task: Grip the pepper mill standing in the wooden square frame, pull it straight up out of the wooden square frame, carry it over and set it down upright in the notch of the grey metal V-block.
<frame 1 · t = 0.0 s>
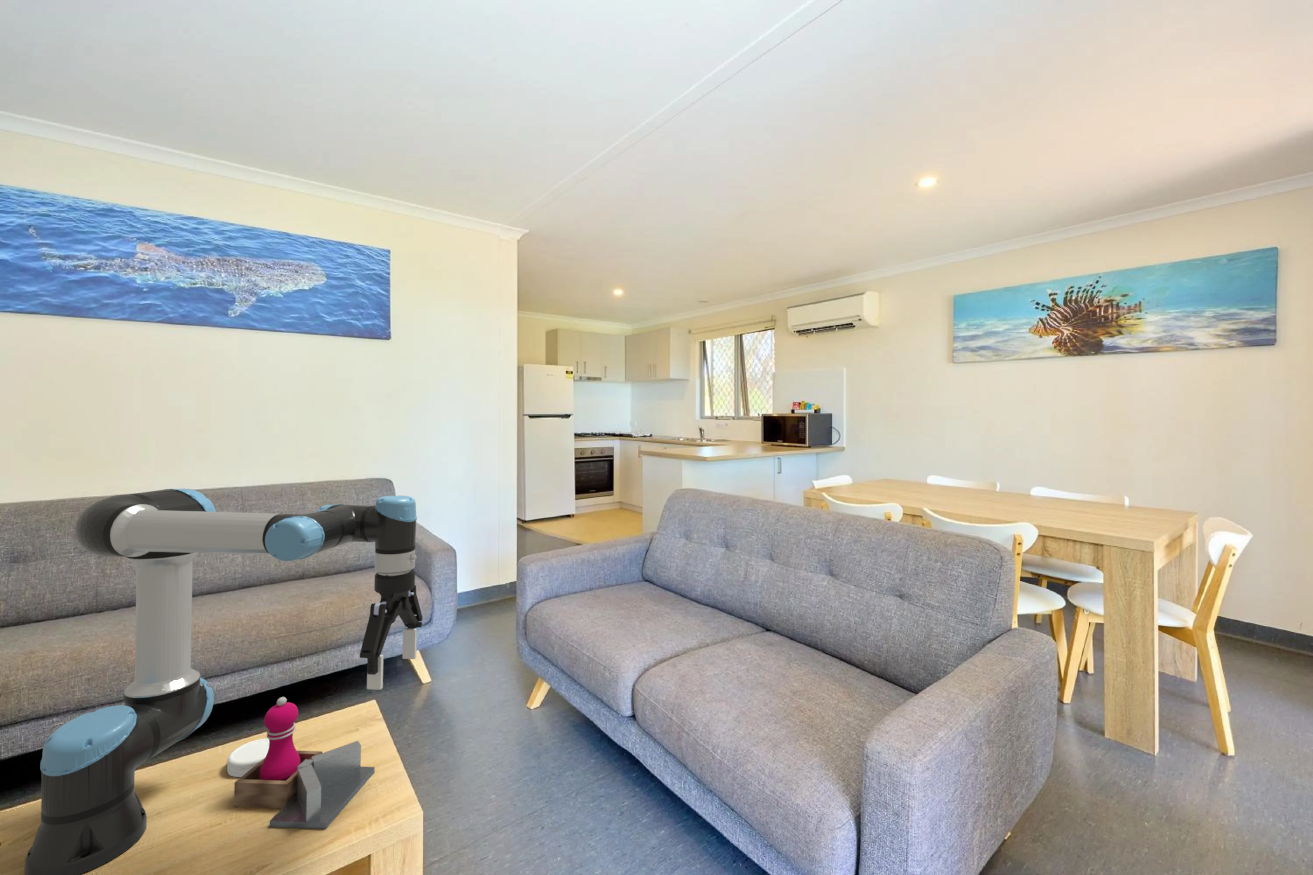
hand: (393, 672, 108), 28 cm above the table, fingers open, 13 cm apart
pepper mill: (280, 789, 112), resting in wooden square frame
v block: (333, 797, 110), on the table
wooden square frame: (280, 788, 112), on the table
coaster: (255, 765, 121), on the table
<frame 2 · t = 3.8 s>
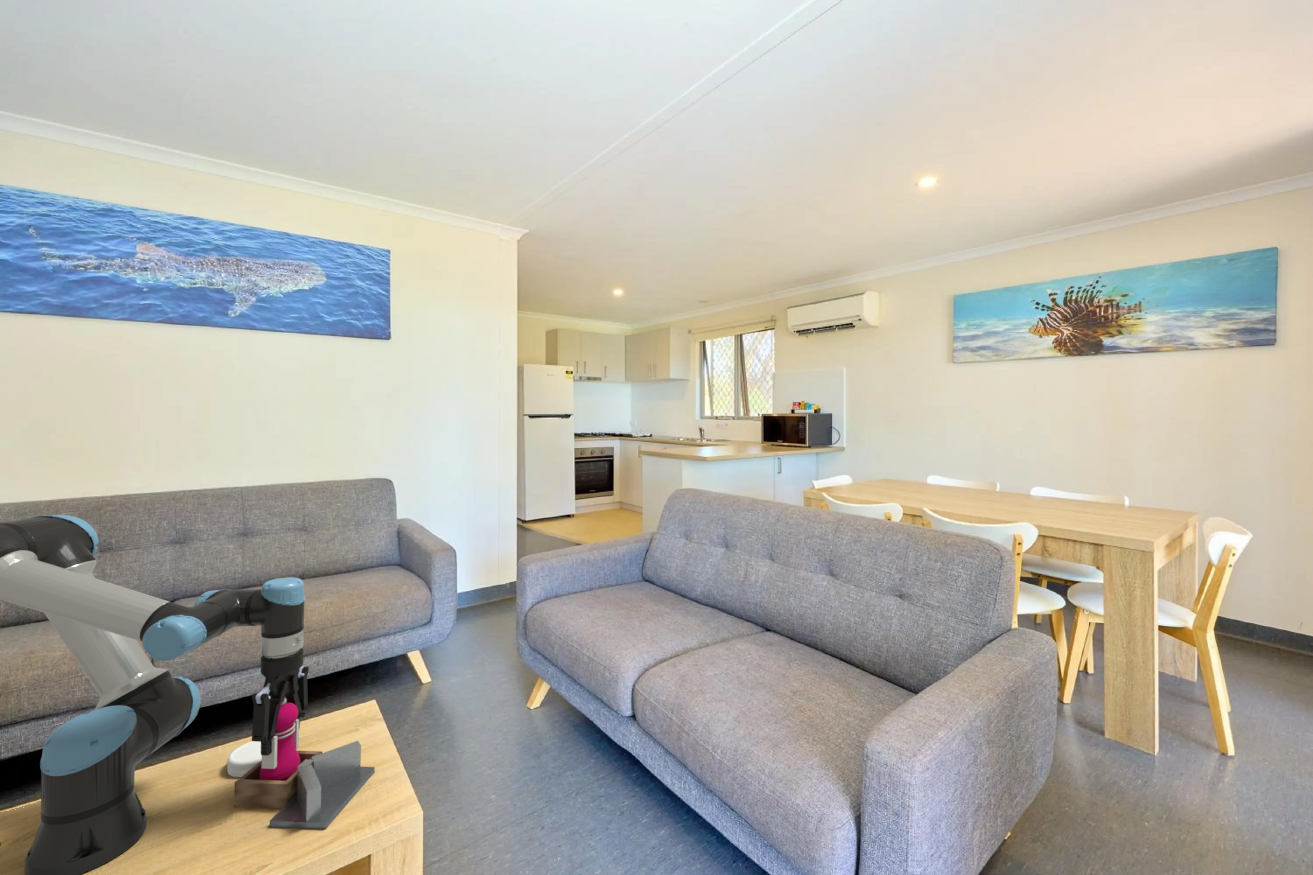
hand: (280, 757, 112), 7 cm above the table, fingers closed on pepper mill, 6 cm apart
pepper mill: (280, 789, 112), resting in wooden square frame, touching gripper
everything else where it was.
when the fingers open (10 cm above the table, at t = 9.3 s): pepper mill drops 2 cm, resting on v block.
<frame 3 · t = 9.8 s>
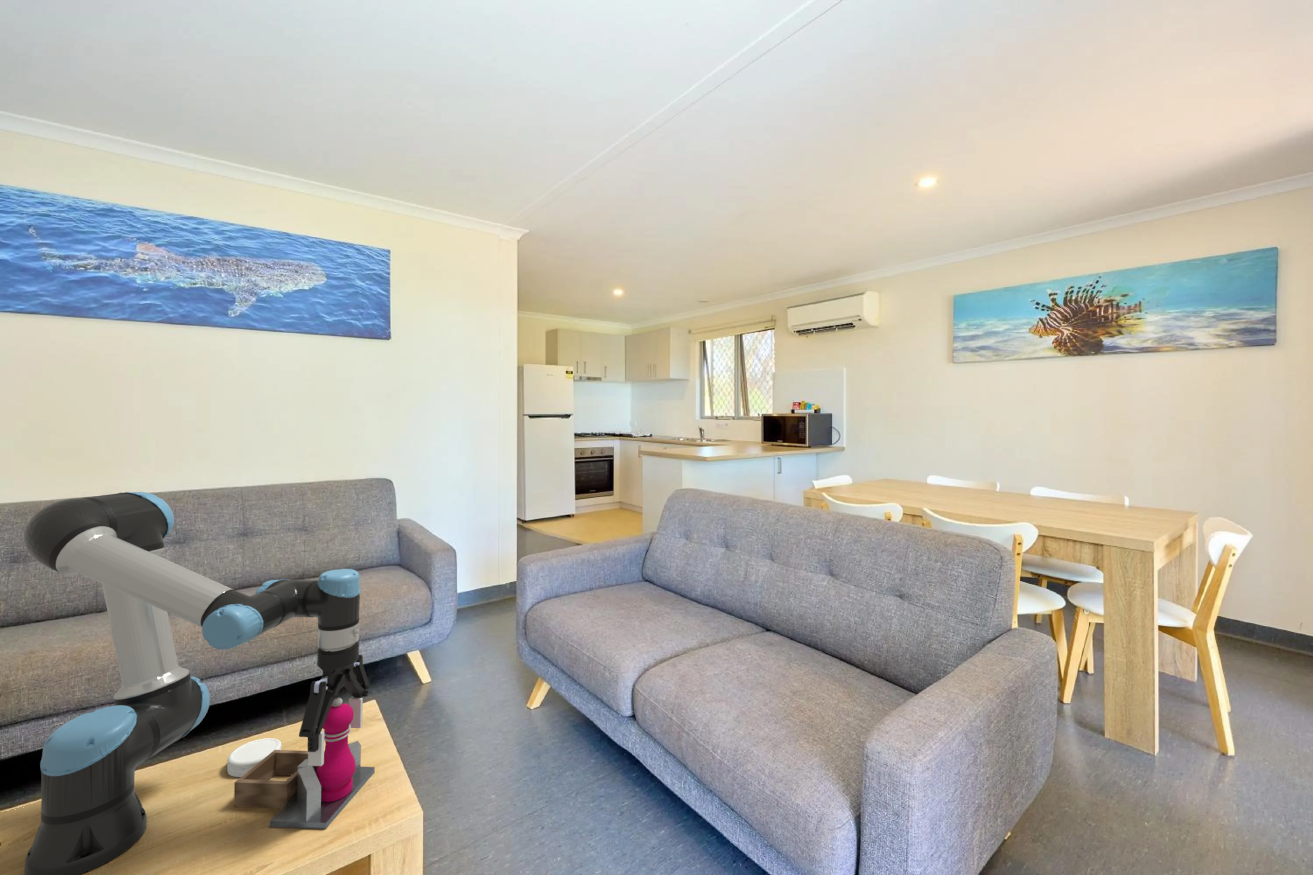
hand: (336, 744, 110), 11 cm above the table, fingers open, 12 cm apart
pepper mill: (335, 792, 110), point 1 cm above the table, touching v block
everything else where it was.
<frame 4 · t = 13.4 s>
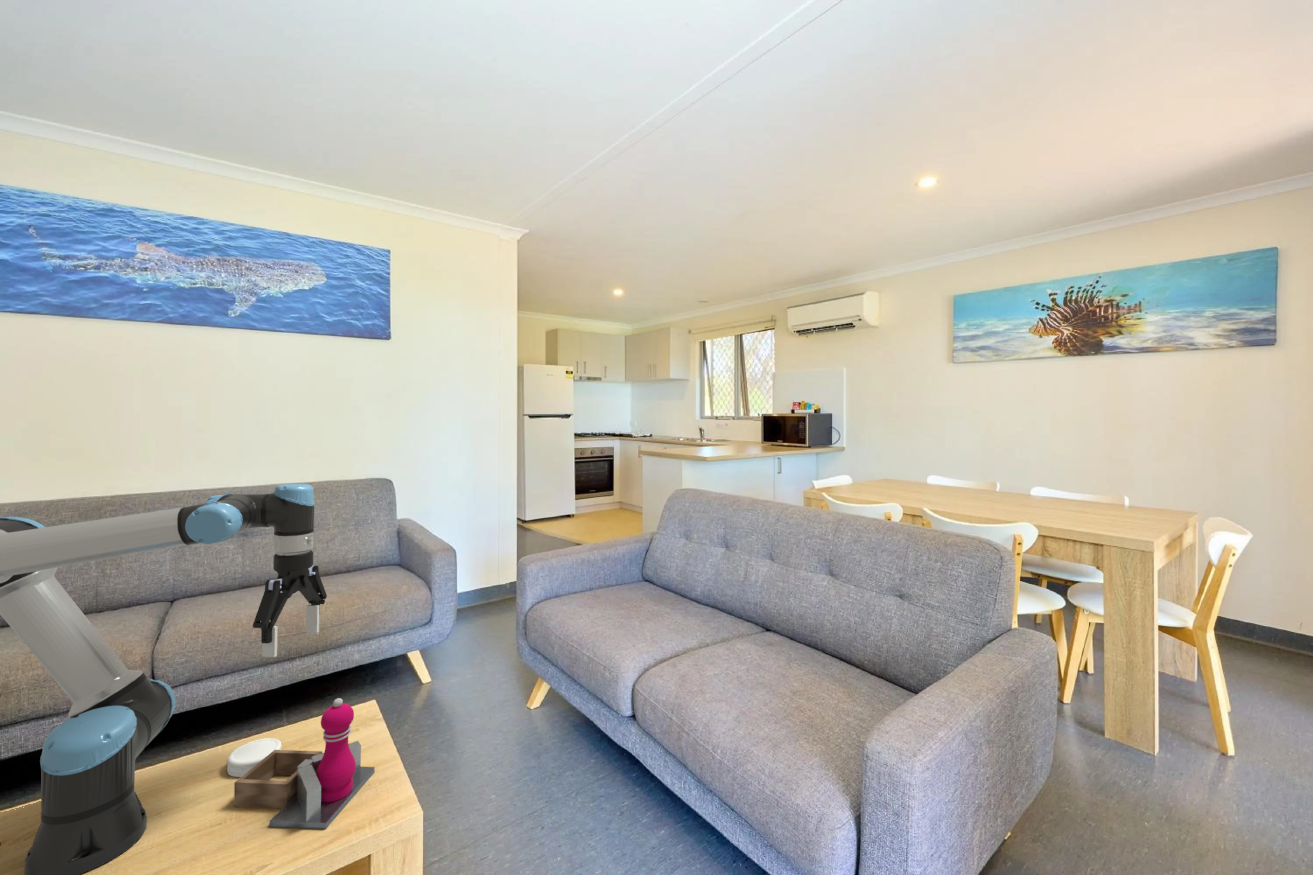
hand: (292, 643, 119), 29 cm above the table, fingers open, 13 cm apart
nothing on the table moved.
at the end: pepper mill 0.5 cm from the v block (horizontally); pepper mill tilted 0°; pepper mill touching v block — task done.
